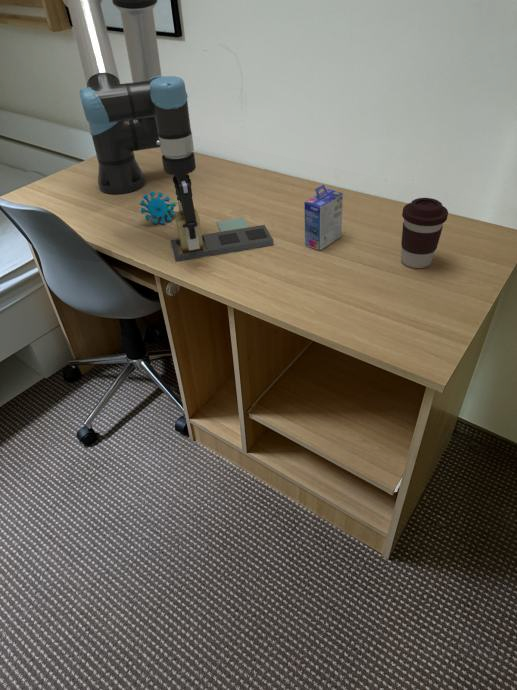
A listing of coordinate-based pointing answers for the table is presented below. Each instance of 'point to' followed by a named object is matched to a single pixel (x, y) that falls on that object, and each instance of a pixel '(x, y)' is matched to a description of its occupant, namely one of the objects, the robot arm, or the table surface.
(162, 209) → the blue spiky knobbed toy
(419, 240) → the coffee cup
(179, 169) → the robot arm
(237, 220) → the translucent green panel
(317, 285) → the table surface
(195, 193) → the table surface
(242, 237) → the rail
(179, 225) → the wooden speaker box
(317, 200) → the ink cartridge box
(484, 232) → the table surface
